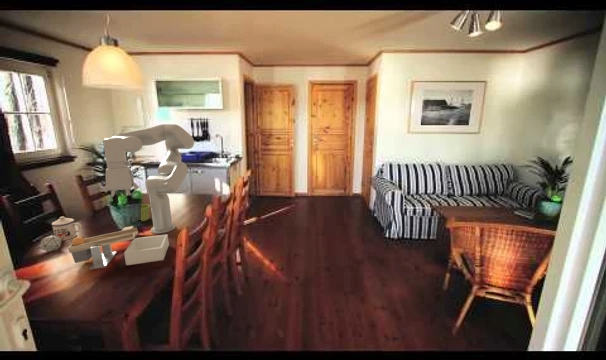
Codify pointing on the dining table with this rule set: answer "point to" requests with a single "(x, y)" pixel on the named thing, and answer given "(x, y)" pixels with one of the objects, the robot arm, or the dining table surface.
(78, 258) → the lever
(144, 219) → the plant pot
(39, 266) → the dining table surface
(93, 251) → the lever stand
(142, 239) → the bin
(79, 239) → the ball
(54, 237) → the game die
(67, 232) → the teacup with lid
